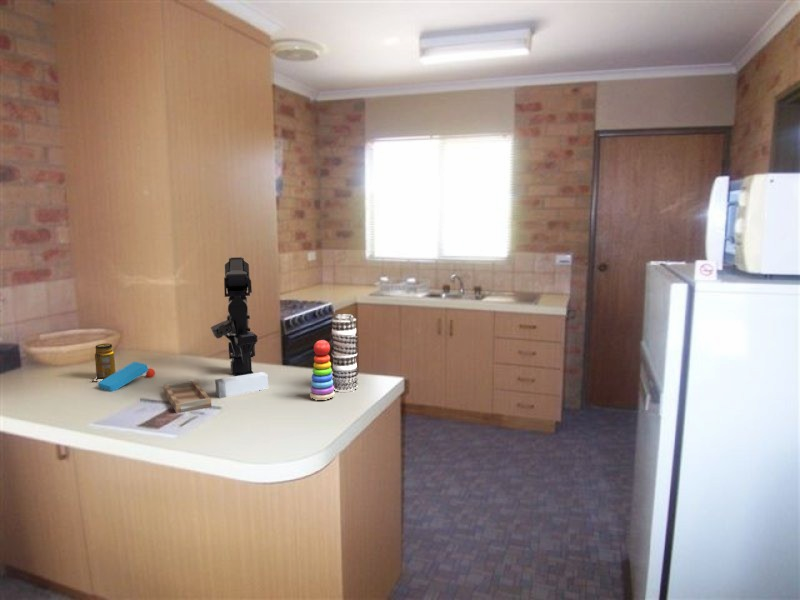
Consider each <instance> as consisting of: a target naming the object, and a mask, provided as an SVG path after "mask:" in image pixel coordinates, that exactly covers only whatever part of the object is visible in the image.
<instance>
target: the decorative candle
mask: <svg viewBox="0 0 800 600" xmlns="http://www.w3.org/2000/svg"><path fill="white" fill-rule="evenodd" d="M331 321H332V329H331V331H330V332H329V334H330V336H329V338H330V340H331V342H330V345H331V346H330V350H332V351H331V357H332V359H333V361H332V368H331V369H332V372H331V374H332V376H333V377H332V380H333V386H334V388H335V389H337V390H352V389H354V388H356V387H358V385H359V382H358V380H359V377H358V374H359V373H358V372H357V371H358V370H359V368H358V365H357V363H358V362H357V355H358V353H359V351H358V350H357V349H358V348H359V347H358V346H357V344H358V343H359V340H357V339H359V336H358V335H356V334H357V328H356V326H357V324H356V321H357V318H355V317H354V316H353V314H350V313H340V314H339V313H338V314H336V315H334V317H333V318H332V319H331Z"/></svg>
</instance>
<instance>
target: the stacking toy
mask: <svg viewBox="0 0 800 600" xmlns="http://www.w3.org/2000/svg"><path fill="white" fill-rule="evenodd" d="M330 345H331V344H330V343H329V342H328V341H327V340H325V339H321V340H318V341H316V342H315V343H314V345H313V352H314V353H315V354H316V355H314V357H313V361H314V363H313V369H312V375H311V379H312V380H311V382H310V384H311V386H310V392H309V397H310V398H311V399H312V398H313V399H317V400H325V399H330V398H332V397H333V398H334V397H335V396H336V392H335V391H334V386H333V380H332V378H333V376H332V373H333V372H332V369H333V368H332V367H331V366H332V362H331V361H330V360H331V356H330V355H329V353H330V350H331V346H330ZM333 398H332V399H333ZM313 399H312V400H313ZM317 400H316V401H317ZM330 400H331V399H330Z"/></svg>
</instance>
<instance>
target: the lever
mask: <svg viewBox="0 0 800 600" xmlns="http://www.w3.org/2000/svg"><path fill="white" fill-rule="evenodd" d="M115 372H116V373H114V374H112V375H110V376H109V377H107V378H105V379H103V380H102V381H100V382H97V386H98V387H99V389H100V390H104V389H105V391H108V390H109V392H115V391H117V390H119V389H120V388H122V387H123V386H125V385H127V384H129V383H131V382H132V381H134V380H135V379H137V378H139V377H141V376H142V377H143V376H145V377H146V378H149V379H150V378H153V377H154V376H155V375H156V371H155V370H154V369H153V368H148V365H147V364H146V363H141V362H137V361H132V362H131V363H129V364H128V365H127V366H125V367H123V368H122V369H119V370H117V371H115Z"/></svg>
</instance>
